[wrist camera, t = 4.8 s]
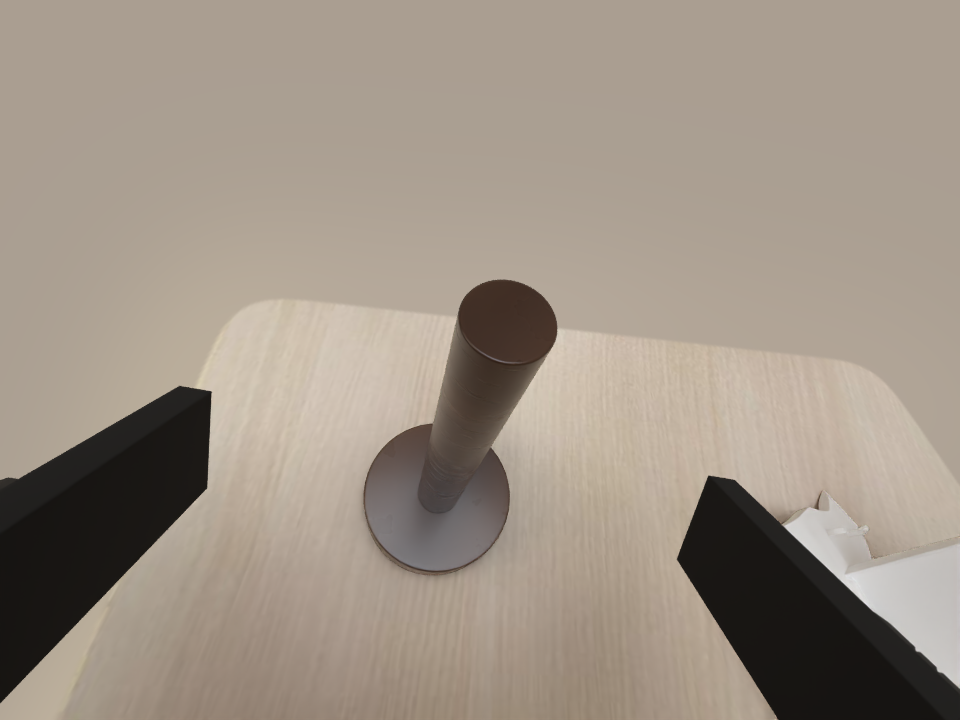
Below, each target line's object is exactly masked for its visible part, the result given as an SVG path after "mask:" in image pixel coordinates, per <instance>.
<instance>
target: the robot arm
mask: <svg viewBox="0 0 960 720" xmlns="http://www.w3.org/2000/svg"><path fill="white" fill-rule="evenodd" d="M211 393H212V391H206V390H200V389H194V388H189V387H182V386H179V387H177V388H175V389H173V390H172V391H170V392H168V393H166V394H165V395H163V396H161V397H160V398H158V399H156V400H154V401H153V402H151V403H149V404H147V405H146V406H144V407H142V408H141V409H139V410H137V411H136V412H134V413H132V414H130V415H128V416H127V417H125V418H123V419H122V420H120V421H118V422H116V423H115V424H113V425H111V426H109V427H108V428H106V429H104V430H102V431H101V432H99V433H97V434H95V435H94V436H92V437H90V438H89V439H87V440H85V441H83V442H82V443H80V444H78V445H76V446H75V447H73V448H71V449H70V450H68V451H66V452H64V453H63V454H61V455H59V456H58V457H56V458H54V459H52V460H51V461H49V462H47V463H46V464H44V465H42V466H40V467H38V468H37V469H35V470H33V471H31V472H30V473H28V474H26V475H25V476H23V477H21V478H20V479H14V478H5V479H3V480H0V703H1V702H2V701H3V700H4V699H5V698H6V697H7V696H8V695H9V694H10V692H12V691H13V689H14V688H15V687H16V686H17V685H18V684H19V683H20V682H21V681H22V680H23V679H24V678H25V677H26V676H27V675H28V674H29V673H30V671H32V670H33V669H34V668H35V667H36V666H37V665H38V663H39V662H40V661H41V660H42V659H43V658H44V657H45V656H46V655H47V654H48V653H49V652H50V651H51V650H52V649H53V648H54V647H55V646H56V645H57V644H58V643H59V641H61V640H62V638H63V637H64V636H65V635H66V634H67V633H68V632H69V631H70V630H71V629H72V628H73V627H74V626H75V625H76V624H77V623H78V622H79V621H80V620H81V619H82V618H83V617H84V616H85V615H86V613H88V611H89V610H90V609H91V608H92V607H93V606H94V605H95V604H96V603H97V602H98V601H99V600H100V599H101V598H102V597H103V596H104V595H105V594H106V593H107V592H108V591H109V590H110V589H111V588H112V587H113V586H114V584H115V583H116V582H117V581H118V580H119V579H120V578H121V577H122V576H123V575H124V574H125V573H126V572H127V571H128V570H129V569H130V568H131V567H132V566H133V565H134V564H135V563H136V562H137V561H138V560H139V558H140V557H141V556H142V555H143V554H144V553H145V552H146V551H147V550H148V549H149V548H150V547H151V546H152V545H153V544H154V543H155V542H156V541H157V540H158V539H159V538H160V537H161V536H162V535H163V534H164V532H165V531H166V530H167V529H168V528H169V527H170V526H171V525H172V524H173V523H174V522H175V521H176V520H177V519H178V518H179V517H180V516H181V515H182V514H183V513H184V512H185V511H186V510H187V509H188V508H189V506H190V505H191V504H192V503H193V502H194V501H195V500H196V499H197V498H198V497H199V496H200V495H201V494H202V493H203V492H204V491H205V490H206V489H207V481H208V459H209V437H210V415H211ZM677 560H678V562H679V563H680V565H681V567H682V568H683V570H684V571H685V573H686V574H687V576H688V578H689V579H690V581H691V582H692V584H693V586H694V587H695V589H696V590H697V592H698V593H699V595H700V597H701V598H702V600H703V601H704V603H705V604H706V606H707V608H708V609H709V611H710V612H711V614H712V616H713V617H714V619H715V620H716V622H717V623H718V625H719V627H720V628H721V630H722V631H723V633H724V634H725V636H726V638H727V639H728V641H729V642H730V644H731V645H732V647H733V649H734V650H735V652H736V653H737V655H738V657H739V658H740V660H741V661H742V663H743V664H744V666H745V668H746V669H747V671H748V672H749V674H750V675H751V677H752V679H753V680H754V682H755V683H756V685H757V687H758V688H759V690H760V691H761V693H762V694H763V696H764V698H765V699H766V701H767V702H768V704H769V705H770V707H771V709H772V710H773V712H774V713H775V715H776V717H777V718H778V720H960V689H959V688H958V687H957V686H956V685H955V684H954V683H953V682H952V681H951V680H950V679H949V678H948V677H947V676H946V675H945V674H944V673H941V672H938V671H937V667H936V666H935V665H934V664H933V663H932V662H931V661H930V660H929V659H928V658H926V657H925V656H924V655H923V654H922V653H921V652H917V651H916V649H915V646H914V645H913V644H912V643H911V642H909V641H908V640H907V639H906V638H905V637H904V636H903V635H902V634H901V633H900V632H899V631H898V630H897V629H896V628H895V627H893V626H892V625H891V624H890V623H889V622H888V621H886V620H885V619H883V618H882V617H881V616H879V615H878V614H876V613H875V612H873V611H872V610H871V609H870V608H869V607H868V606H867V605H866V604H865V603H864V602H863V601H862V600H860V599H859V598H858V597H857V596H856V595H855V594H854V593H853V592H852V591H851V590H850V589H849V588H848V587H847V586H846V585H845V584H844V583H843V582H842V581H840V580H839V579H838V578H837V577H836V576H835V575H834V574H833V573H832V572H831V571H830V570H829V569H828V568H827V567H826V566H825V565H824V564H823V563H822V562H820V561H819V560H818V559H817V558H816V557H815V556H814V555H813V554H812V553H811V552H810V551H809V550H808V549H807V548H806V547H805V546H804V545H803V544H802V543H800V542H799V541H798V540H797V539H796V538H795V537H794V536H793V535H792V534H791V533H790V532H789V531H788V530H787V529H786V528H785V527H784V526H783V525H782V524H780V523H779V522H778V521H777V520H776V519H775V518H774V517H773V516H772V515H771V514H770V513H769V512H768V511H767V510H766V509H765V508H764V507H763V506H762V505H760V504H759V503H758V502H757V501H756V500H755V499H754V498H753V497H752V496H751V495H750V494H749V493H748V492H747V491H746V490H745V489H744V488H743V487H742V486H740V485H739V484H738V483H737V482H736V481H735V480H732V479H726V478H720V477H714V476H708V478H707V481H706V483H705V486H704V489H703V491H702V494H701V497H700V499H699V502H698V505H697V507H696V510H695V512H694V515H693V518H692V520H691V523H690V526H689V528H688V531H687V534H686V536H685V539H684V541H683V544H682V547H681V549H680V552H679V555H678V557H677Z"/></svg>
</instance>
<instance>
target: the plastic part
mask: <svg viewBox="0 0 960 720" xmlns="http://www.w3.org/2000/svg"><path fill="white" fill-rule="evenodd" d="M782 525H783V526H784V527H785V528H786V529H787V530H788V531H789V532H790V533H791V534H792V535H793V536H794V537H795V538H796V539H797V540H798V541H799V542H800V543H802V544H803V545H804V546H805V547H806V548H807V549H808V550H809V551H810V552H811V553H812V554H813V555H814V556H815V557H816V558H817V559H818V560H819V561H820V562H822V563H823V564H824V565H825V566H826V567H827V568H828V569H829V570H830V571H831V572H832V573H833V574H834V575H835V576H836V577H837V578H838V579H839V580H840V581H842V582H843V583H844V584H845V585H846V586H847V587H848V588H849V589H850V590H851V591H852V592H853V593H854V594H855V595H856V596H857V597H858V598H859V599H860V600H862V601H863V602H864V603H865V604H866V605H867V606H868V607H869V608H870V609H871V610H872V611H873V612H875V613H876V614H878V615H879V616H881V617H882V618H883V619H885V620H886V621H888V622H889V623H890V624H891V625H892V626H893V627H895V628H896V629H897V630H898V631H899V632H900V633H901V634H902V635H903V636H904V637H905V638H906V639H907V640H908V641H909V642H911V643H912V644H913V645H914V646H915V649H916V651H917V652H921V653H922V654H923V655H924V656H925V657H926V658H928V659H929V660H930V661H931V662H932V663H933V664H934V665H935V666H936V667H937V671H938V672H941V673H944V674H945V675H946V676H947V677H948V678H949V679H950V680H951V681H952V682H953V683H954V684H955V685H956V686H957V687H958V688H959V689H960V536H959V537H955V538H951V539H948V540H944V541H940V542H936V543H932V544H928V545H925V546H921V547H917V548H913V549H910V550H906V551H902V552H898V553H895V554H891V555H887V556H884V557H880V558H876V559H873V560H872V557H871V554H870V551H869V548H868V546H867V543H866V540H865V538H864V536H863V534H866V533H867V532H868V531H869V528H868V526H867V525H864V526H860V527H858V526H857V525H856V523H855V522H854V521H853V520H852V519H851V518H850V517H849V516H848V515H847V514H846V512H845V511H844V510H843V509H842V508H841V507H840V506H839V505H838V504H837V503H836V502H835V501H834V500H833V498H832V497H831V496H830V495H829V494H828V493H827V492H826V491H825V490H823V491H822V493H821V496H820V499H819V510H817V509H814V508H809V507H807V508H804V509H802V510H799V511H796V512H795V513H794V514H793V515H792V516H791V517H790V518H789V519H788V520H787V521H786V522H785V523H783V524H782Z"/></svg>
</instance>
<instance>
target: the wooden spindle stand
mask: <svg viewBox="0 0 960 720" xmlns="http://www.w3.org/2000/svg"><path fill="white" fill-rule="evenodd" d="M556 336H557V321H556V317H555V314H554V312H553V310H552V308H551V306H550V305H549V303H548V302H547V301H546V300H545V298H544V297H543V296H542V295H541V294H539V293H538V292H537V291H536V290H534V289H532V288H531V287H529V286H527V285H525V284H522V283H519V282H515V281H511V280H492V281H488V282H485V283H482V284H480V285H478V286H476V287H475V288H473V289H472V290H471V291H470V292H469V293H468V294H467V295H466V296H465V297H464V299H463V301H462V303H461V305H460V308H459V312H458V316H457V321H456V325H455V330H454V334H453V338H452V343H451V347H450V352H449V356H448V360H447V365H446V369H445V374H444V378H443V382H442V387H441V391H440V396H439V400H438V404H437V409H436V413H435V418H434V422H433V424H426V425H420V426H417V427H414V428H411V429H409V430H406V431H404V432H402V433H401V434H399V435H397V436H396V437H395V438H393V439H392V440H391V441H389V442H388V443H387V444H386V445H385V446H384V447H383V448H382V450H381V451H380V452H379V453H378V455H377V456H376V458H375V459H374V461H373V463H372V465H371V467H370V469H369V472H368V474H367V478H366V482H365V487H364V510H365V515H366V519H367V523H368V527H369V530H370V532H371V535H372V537H373V539H374V541H375V543H376V544H377V546H378V547H379V549H380V550H381V551H382V552H383V554H384V555H385V556H387V557H388V558H389V559H390V560H391V561H392V562H394V563H395V564H396V565H398V566H400V567H402V568H404V569H406V570H408V571H411V572H414V573H417V574H423V575H442V574H447V573H451V572H455V571H457V570H459V569H462V568H464V567H465V566H467V565H469V564H471V563H472V562H474V561H476V560H477V559H479V558H480V557H481V556H482V555H484V554H485V553H486V552H487V551H488V550H489V549H490V548H491V547H492V545H493V544H494V543H495V541H496V540H497V539H498V537H499V535H500V533H501V532H502V530H503V527H504V525H505V522H506V519H507V515H508V511H509V503H510V492H509V484H508V480H507V476H506V473H505V470H504V468H503V465H502V463H501V462H500V460H499V458H498V456H497V455H496V454H495V452H494V451H493V450H492V448H491V446H492V444H493V443H494V441H495V439H496V438H497V436H498V434H499V433H500V431H501V430H502V428H503V426H504V425H505V423H506V421H507V420H508V418H509V417H510V415H511V413H512V412H513V410H514V408H515V407H516V405H517V404H518V402H519V400H520V399H521V397H522V395H523V394H524V392H525V391H526V389H527V387H528V386H529V384H530V383H531V381H532V379H533V378H534V376H535V374H536V373H537V371H538V370H539V368H540V366H541V365H542V363H543V361H544V360H545V358H546V357H547V355H548V353H549V352H550V350H551V348H552V347H553V345H554V343H555V340H556Z"/></svg>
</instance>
